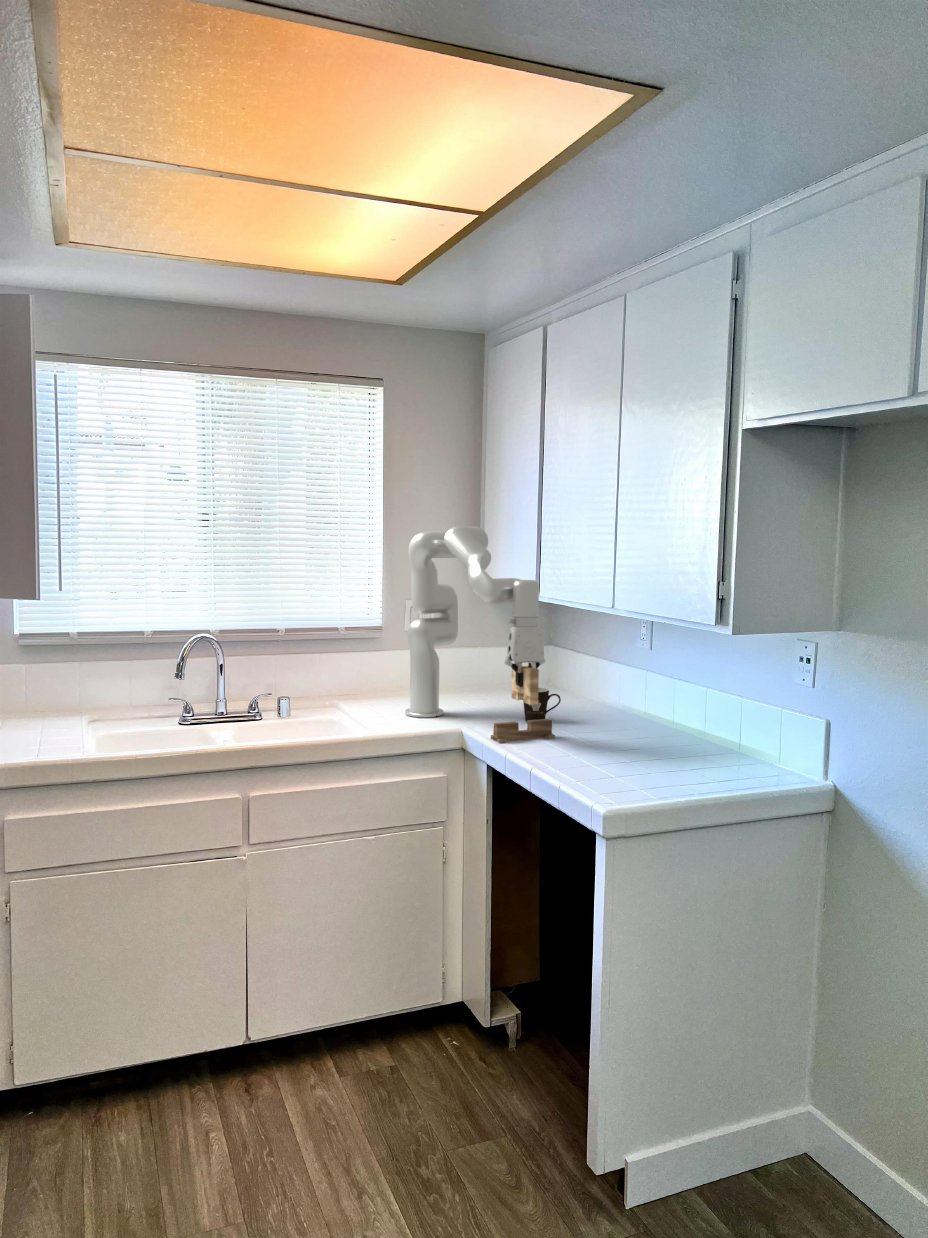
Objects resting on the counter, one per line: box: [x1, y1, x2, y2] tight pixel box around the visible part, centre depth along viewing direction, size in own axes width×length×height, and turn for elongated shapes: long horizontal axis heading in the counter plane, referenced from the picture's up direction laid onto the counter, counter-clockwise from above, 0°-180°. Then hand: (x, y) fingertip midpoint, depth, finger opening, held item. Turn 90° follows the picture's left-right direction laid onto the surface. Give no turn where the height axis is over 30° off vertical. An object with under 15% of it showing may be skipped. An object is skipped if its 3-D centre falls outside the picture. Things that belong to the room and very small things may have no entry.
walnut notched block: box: [490, 718, 556, 744], centre depth 265 cm, size 6×18×5 cm, turn 113°
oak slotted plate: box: [511, 664, 540, 705], centre depth 264 cm, size 12×3×10 cm, turn 23°
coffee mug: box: [522, 686, 562, 722], centre depth 289 cm, size 12×9×10 cm
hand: (524, 685), depth 264 cm, fingers closed on oak slotted plate, 2 cm apart
